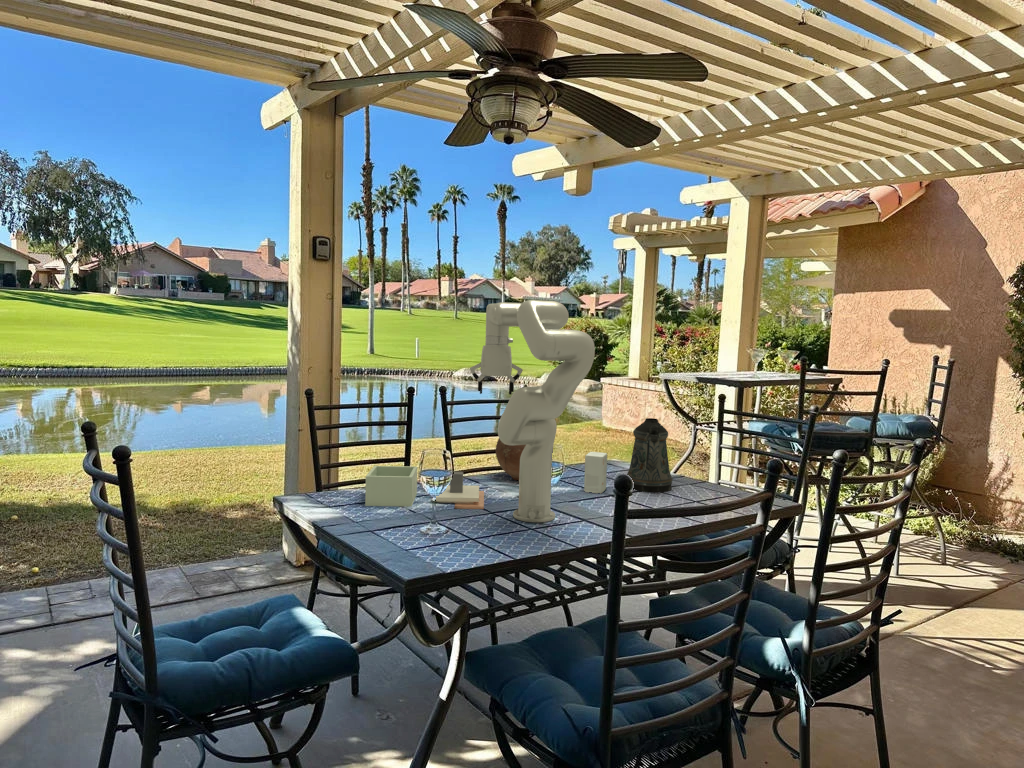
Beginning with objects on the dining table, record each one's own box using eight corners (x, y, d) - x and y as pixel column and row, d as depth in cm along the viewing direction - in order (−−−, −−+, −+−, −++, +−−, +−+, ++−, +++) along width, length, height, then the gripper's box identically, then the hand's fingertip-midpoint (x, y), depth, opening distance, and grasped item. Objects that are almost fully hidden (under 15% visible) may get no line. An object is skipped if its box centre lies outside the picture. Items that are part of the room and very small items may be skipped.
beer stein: (654, 481, 257) (657, 415, 254) (686, 493, 239) (690, 422, 237) (616, 483, 250) (619, 416, 248) (646, 496, 232) (649, 423, 230)
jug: (484, 475, 257) (486, 397, 255) (529, 470, 270) (531, 395, 267) (517, 487, 239) (520, 403, 237) (564, 481, 252) (567, 400, 250)
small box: (588, 487, 243) (590, 451, 242) (606, 489, 241) (607, 452, 240) (583, 492, 236) (584, 455, 235) (601, 494, 234) (602, 456, 233)
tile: (483, 509, 210) (483, 506, 210) (425, 508, 209) (425, 505, 209) (483, 493, 230) (483, 490, 230) (430, 492, 229) (430, 490, 229)
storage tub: (411, 509, 207) (412, 477, 206) (365, 508, 207) (365, 476, 206) (416, 496, 223) (417, 466, 222) (373, 495, 222) (374, 465, 222)
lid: (478, 504, 212) (479, 479, 211) (431, 504, 211) (432, 478, 210) (479, 492, 228) (479, 468, 227) (435, 491, 228) (435, 467, 227)
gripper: (522, 342, 226) (521, 393, 227) (470, 340, 225) (469, 392, 227) (524, 342, 219) (522, 395, 220) (470, 341, 218) (468, 394, 219)
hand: (495, 393), depth 223 cm, fingers open, 9 cm apart
